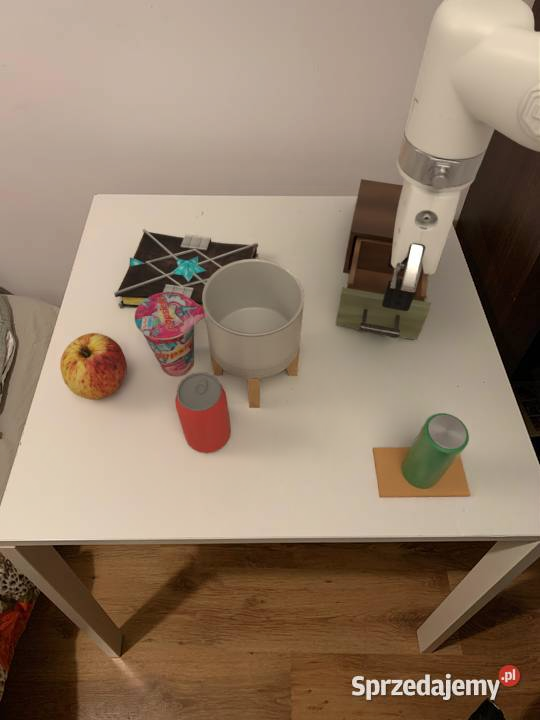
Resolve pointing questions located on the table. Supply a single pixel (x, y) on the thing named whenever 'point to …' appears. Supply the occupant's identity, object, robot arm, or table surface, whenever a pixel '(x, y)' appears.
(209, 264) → the book
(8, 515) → the table surface
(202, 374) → the beer can
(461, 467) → the mat
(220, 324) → the planter
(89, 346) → the apple
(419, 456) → the green can
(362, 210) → the cabinet
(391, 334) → the drawer
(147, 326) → the cup
